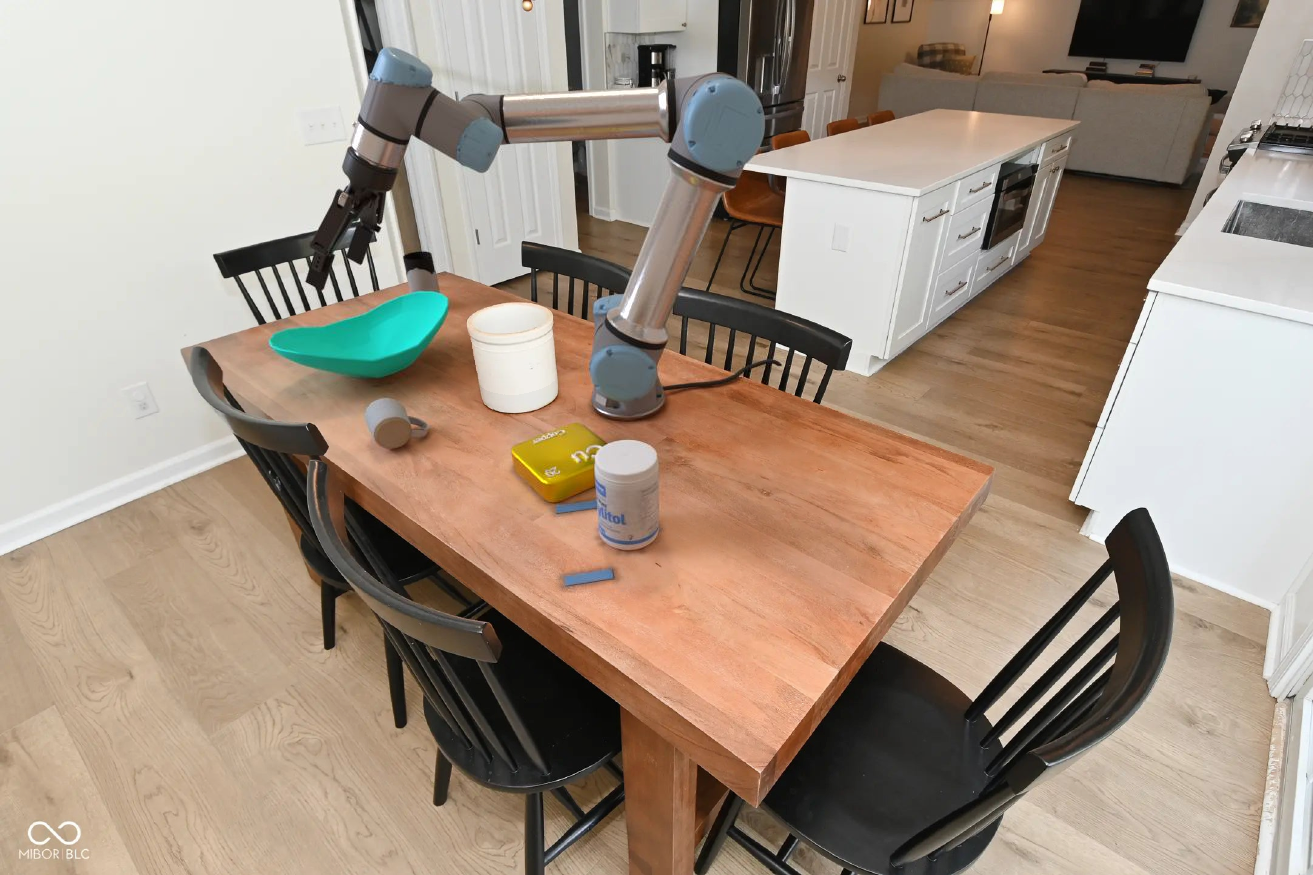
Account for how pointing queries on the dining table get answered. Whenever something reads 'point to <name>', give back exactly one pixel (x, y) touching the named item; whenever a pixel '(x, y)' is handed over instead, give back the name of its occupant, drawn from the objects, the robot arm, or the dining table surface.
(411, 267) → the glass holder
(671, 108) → the robot arm
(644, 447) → the supplement tub
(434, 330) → the table top decor
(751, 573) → the dining table surface
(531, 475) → the element tile
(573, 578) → the tape marks
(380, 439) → the ceramic mug
